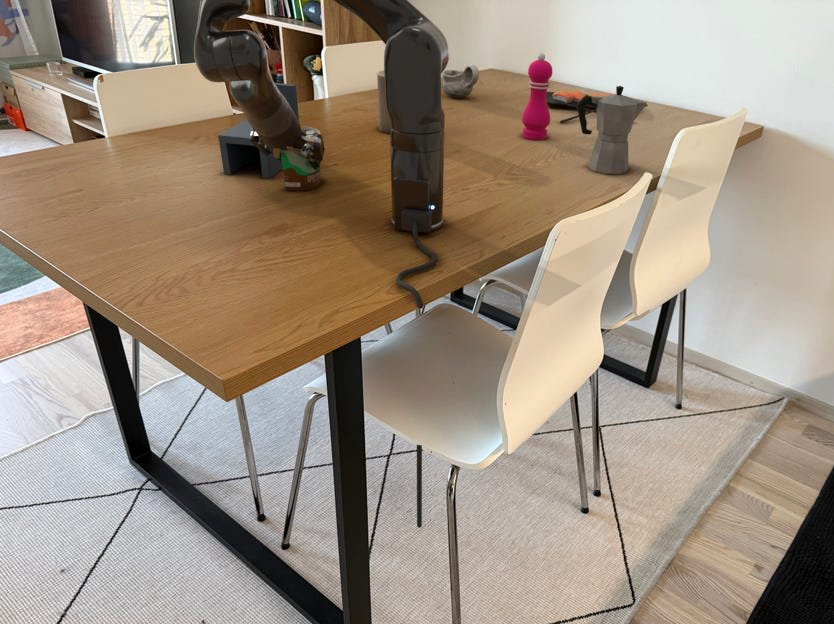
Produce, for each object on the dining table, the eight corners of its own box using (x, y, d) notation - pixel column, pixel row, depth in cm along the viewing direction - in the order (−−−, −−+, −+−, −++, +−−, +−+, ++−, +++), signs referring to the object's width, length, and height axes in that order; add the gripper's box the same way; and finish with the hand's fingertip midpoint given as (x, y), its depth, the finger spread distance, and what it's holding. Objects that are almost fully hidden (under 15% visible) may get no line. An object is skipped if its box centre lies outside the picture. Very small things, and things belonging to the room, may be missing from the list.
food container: (312, 196, 137) (308, 145, 132) (282, 192, 138) (277, 141, 132) (335, 176, 147) (332, 128, 142) (307, 173, 148) (303, 125, 143)
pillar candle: (419, 134, 177) (418, 71, 169) (380, 134, 175) (378, 71, 167) (413, 124, 185) (413, 63, 177) (376, 124, 183) (374, 63, 175)
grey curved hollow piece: (453, 91, 220) (454, 57, 214) (487, 98, 214) (489, 63, 209) (435, 97, 213) (436, 61, 207) (470, 103, 207) (471, 67, 202)
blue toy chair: (269, 178, 145) (260, 103, 136) (223, 173, 146) (212, 98, 138) (302, 153, 160) (296, 84, 151) (260, 149, 161) (252, 80, 152)
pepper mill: (521, 132, 184) (527, 49, 173) (548, 134, 183) (557, 51, 172) (519, 139, 178) (526, 54, 167) (548, 141, 177) (556, 56, 166)
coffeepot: (633, 163, 165) (647, 83, 155) (639, 176, 157) (654, 92, 147) (568, 159, 165) (577, 79, 155) (571, 172, 157) (581, 88, 147)
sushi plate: (633, 104, 216) (635, 91, 214) (638, 129, 191) (641, 115, 189) (539, 97, 219) (541, 84, 217) (532, 121, 194) (533, 106, 192)
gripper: (315, 101, 122) (341, 150, 139) (236, 93, 124) (271, 143, 140) (306, 140, 121) (333, 185, 137) (227, 131, 122) (263, 177, 139)
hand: (302, 163), depth 139 cm, fingers closed on food container, 5 cm apart
